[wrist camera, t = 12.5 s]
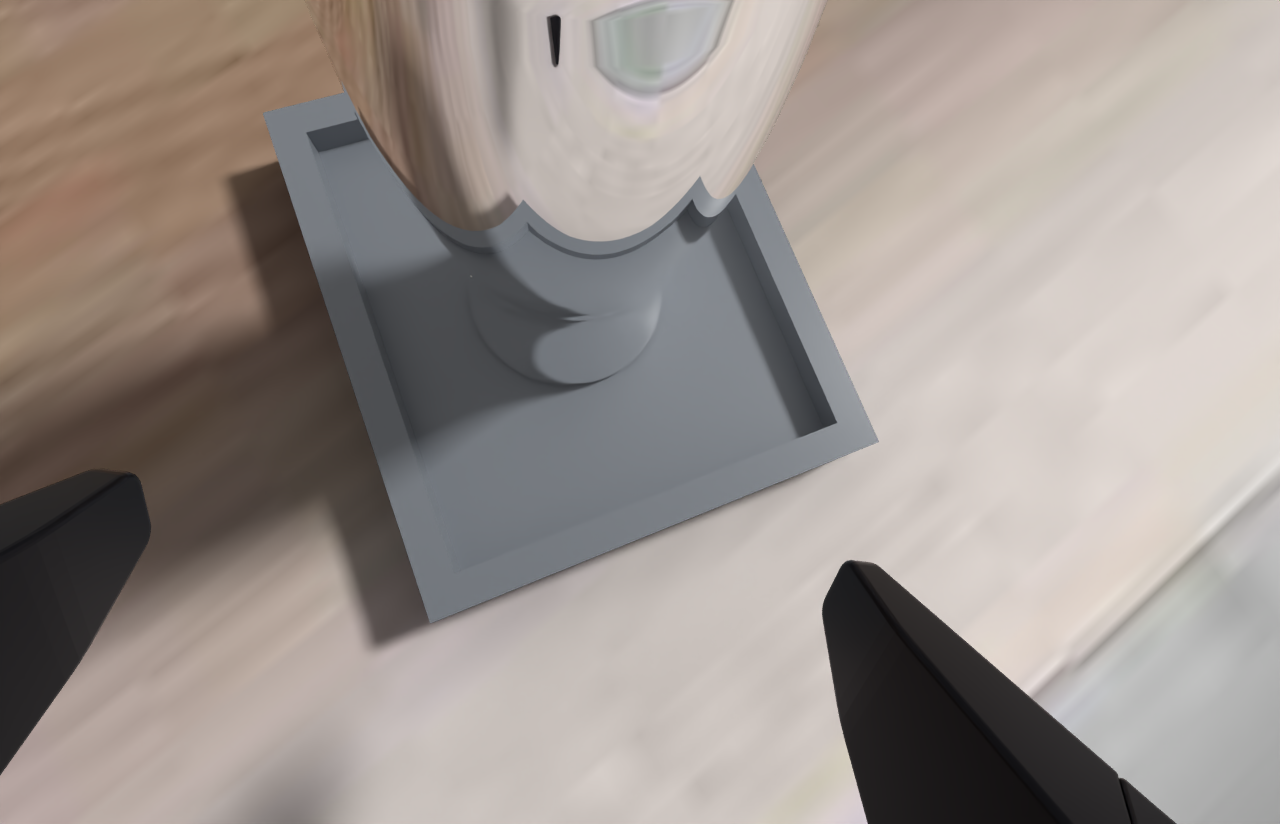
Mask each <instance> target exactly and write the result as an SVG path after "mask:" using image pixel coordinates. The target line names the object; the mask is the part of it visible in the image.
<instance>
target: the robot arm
mask: <svg viewBox="0 0 1280 824" xmlns="http://www.w3.org/2000/svg"><path fill="white" fill-rule="evenodd" d="M150 533H151V523H150V519H149V515H148V510H147V506H146V502H145V498H144V494H143V489H142V485H141V482H140V480H139V478H138V477H137V476H136V475H135V474H132V473H130V472H124V471H116V470H107V469H92V470H89V471H86V472H83V473H81V474H78V475H75V476H73V477H70V478H68V479H65V480H62V481H60V482H57V483H55V484H52V485H50V486H47V487H44V488H42V489H39V490H37V491H34V492H31V493H29V494H26V495H24V496H21V497H19V498H16V499H13V500H11V501H8V502H6V503H3V504H0V775H1V774H2V772H3V771H4V769H5V768H6V767H7V765H8V764H9V762H10V761H11V759H12V758H13V757H14V755H15V754H16V752H17V751H18V750H19V748H20V747H21V745H22V744H23V743H24V741H25V740H26V738H27V737H28V736H29V734H30V733H31V731H32V730H33V729H34V727H35V726H36V724H37V723H38V721H39V720H40V719H41V717H42V716H43V714H44V713H45V712H46V710H47V709H48V707H49V706H50V705H51V703H52V702H53V700H54V699H55V698H56V696H57V695H58V693H59V692H60V691H61V689H62V688H63V686H64V685H65V683H66V682H67V681H68V679H69V678H70V676H71V675H72V673H73V672H74V670H75V669H76V667H77V666H78V664H79V663H80V661H81V660H82V658H83V656H84V655H85V653H86V652H87V650H88V648H89V647H90V645H91V643H92V642H93V640H94V638H95V636H96V634H97V633H98V631H99V629H100V627H101V626H102V624H103V622H104V620H105V618H106V617H107V615H108V613H109V611H110V610H111V608H112V606H113V604H114V603H115V601H116V599H117V597H118V595H119V594H120V592H121V590H122V588H123V587H124V585H125V583H126V581H127V579H128V578H129V576H130V574H131V572H132V571H133V569H134V567H135V565H136V563H137V562H138V560H139V558H140V556H141V555H142V553H143V551H144V549H145V547H146V545H147V543H148V541H149V538H150ZM822 617H823V624H824V630H825V636H826V642H827V648H828V654H829V660H830V666H831V672H832V678H833V684H834V690H835V696H836V702H837V707H838V712H839V717H840V722H841V726H842V730H843V734H844V738H845V742H846V746H847V750H848V753H849V757H850V760H851V764H852V768H853V771H854V775H855V779H856V782H857V786H858V790H859V793H860V797H861V801H862V804H863V808H864V812H865V815H866V819H867V822H868V824H1176V823H1175V822H1174V821H1173V820H1172V819H1170V818H1169V817H1168V816H1167V815H1166V814H1164V813H1163V812H1162V811H1161V810H1160V809H1159V808H1157V807H1156V806H1155V805H1154V804H1153V803H1152V802H1150V801H1149V800H1148V799H1147V798H1146V797H1145V796H1144V795H1142V794H1141V793H1140V792H1139V791H1138V790H1137V789H1136V788H1134V787H1133V786H1132V785H1131V784H1130V783H1129V782H1128V781H1126V780H1125V779H1123V778H1119V777H1118V774H1117V772H1116V771H1115V770H1113V769H1112V768H1111V767H1110V766H1109V765H1108V764H1107V763H1105V762H1104V761H1103V760H1102V759H1101V758H1100V757H1098V756H1097V755H1096V754H1095V753H1094V752H1093V751H1092V750H1090V749H1089V748H1088V747H1087V746H1086V745H1085V744H1083V743H1082V742H1081V741H1080V740H1079V739H1078V738H1077V737H1075V736H1074V735H1073V734H1072V733H1071V732H1070V731H1068V730H1067V729H1066V728H1065V727H1064V726H1063V725H1062V724H1060V723H1059V722H1058V721H1057V720H1056V719H1055V718H1053V717H1052V716H1051V715H1050V714H1049V713H1048V712H1047V711H1045V710H1044V709H1043V708H1042V707H1041V706H1040V705H1038V704H1037V703H1036V702H1035V701H1034V700H1033V699H1032V698H1030V697H1029V696H1028V695H1027V694H1026V693H1025V692H1023V691H1022V690H1021V689H1020V688H1019V687H1018V686H1017V685H1015V684H1014V683H1013V682H1012V681H1011V680H1010V679H1008V678H1007V677H1006V676H1005V675H1004V674H1003V673H1002V672H1000V671H999V670H998V669H997V668H996V667H995V666H993V665H992V664H991V663H990V662H989V661H988V660H987V659H985V658H984V657H983V656H982V655H981V654H980V653H978V652H977V651H976V650H975V649H974V648H973V647H972V646H970V645H969V644H968V643H967V642H966V641H965V640H963V639H962V638H961V637H960V636H959V635H958V634H957V633H955V632H954V631H953V630H952V629H951V628H950V627H948V626H947V625H946V624H945V623H944V622H943V621H942V620H940V619H939V618H938V617H937V616H936V615H935V614H933V613H932V612H931V611H930V610H929V609H928V608H927V607H925V606H924V605H923V604H922V603H921V602H920V601H918V600H917V599H916V598H915V597H914V596H913V595H912V594H910V593H909V592H908V591H907V590H906V589H905V588H903V587H902V586H901V585H900V584H899V583H898V582H897V581H895V580H894V579H893V578H892V577H891V576H890V575H888V574H887V573H886V572H885V571H884V570H883V569H882V568H880V567H879V566H878V565H876V564H874V563H870V562H862V561H854V560H850V561H846V562H845V563H844V564H842V566H841V568H840V569H839V571H838V573H837V575H836V577H835V579H834V581H833V583H832V585H831V587H830V589H829V591H828V593H827V595H826V597H825V599H824V603H823V608H822Z"/></svg>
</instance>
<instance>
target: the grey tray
mask: <svg viewBox="0 0 1280 824" xmlns="http://www.w3.org/2000/svg"><path fill="white" fill-rule="evenodd" d="M263 115H264V118H265V121H266V124H267V127H268V130H269V134H270V137H271V140H272V143H273V146H274V149H275V152H276V155H277V158H278V161H279V164H280V167H281V170H282V173H283V176H284V179H285V182H286V185H287V188H288V191H289V195H290V198H291V201H292V204H293V207H294V210H295V213H296V216H297V219H298V222H299V225H300V228H301V231H302V234H303V237H304V240H305V243H306V246H307V249H308V252H309V256H310V259H311V262H312V265H313V268H314V271H315V274H316V277H317V280H318V283H319V286H320V289H321V292H322V295H323V298H324V301H325V304H326V307H327V310H328V313H329V317H330V320H331V323H332V326H333V329H334V332H335V335H336V338H337V341H338V344H339V347H340V350H341V353H342V356H343V359H344V362H345V365H346V368H347V371H348V374H349V378H350V381H351V384H352V387H353V390H354V393H355V396H356V399H357V402H358V405H359V408H360V411H361V414H362V417H363V420H364V423H365V426H366V429H367V432H368V435H369V439H370V442H371V445H372V448H373V451H374V454H375V457H376V460H377V463H378V466H379V469H380V472H381V475H382V478H383V481H384V484H385V487H386V490H387V493H388V496H389V500H390V503H391V506H392V509H393V512H394V515H395V518H396V521H397V524H398V527H399V530H400V533H401V536H402V539H403V542H404V545H405V548H406V551H407V554H408V557H409V561H410V564H411V567H412V570H413V573H414V576H415V579H416V582H417V585H418V588H419V591H420V594H421V597H422V600H423V603H424V606H425V609H426V612H427V615H428V618H429V622H430V623H433V622H435V621H438V620H440V619H443V618H445V617H448V616H450V615H453V614H455V613H458V612H460V611H462V610H465V609H467V608H470V607H472V606H475V605H477V604H480V603H482V602H485V601H487V600H490V599H492V598H495V597H497V596H499V595H502V594H504V593H507V592H509V591H512V590H514V589H517V588H519V587H522V586H524V585H527V584H529V583H532V582H534V581H537V580H539V579H541V578H544V577H546V576H549V575H551V574H554V573H556V572H559V571H561V570H564V569H566V568H569V567H571V566H574V565H576V564H579V563H581V562H583V561H586V560H588V559H591V558H593V557H596V556H598V555H601V554H603V553H606V552H608V551H611V550H613V549H616V548H618V547H621V546H623V545H625V544H628V543H630V542H633V541H635V540H638V539H640V538H643V537H645V536H648V535H650V534H653V533H655V532H658V531H660V530H663V529H665V528H667V527H670V526H672V525H675V524H677V523H680V522H682V521H685V520H687V519H690V518H692V517H695V516H697V515H700V514H702V513H704V512H707V511H709V510H712V509H714V508H717V507H719V506H722V505H724V504H727V503H729V502H732V501H734V500H737V499H739V498H742V497H744V496H746V495H749V494H751V493H754V492H756V491H759V490H761V489H764V488H766V487H769V486H771V485H774V484H776V483H779V482H781V481H784V480H786V479H788V478H791V477H793V476H796V475H798V474H801V473H803V472H806V471H808V470H811V469H813V468H816V467H818V466H821V465H823V464H826V463H828V462H830V461H833V460H835V459H838V458H840V457H843V456H845V455H848V454H850V453H853V452H855V451H858V450H860V449H863V448H865V447H868V446H870V445H872V444H875V443H877V442H879V441H878V438H877V436H876V434H875V432H874V430H873V427H872V425H871V423H870V421H869V418H868V416H867V414H866V412H865V410H864V407H863V405H862V403H861V401H860V399H859V396H858V394H857V392H856V390H855V387H854V385H853V383H852V381H851V379H850V376H849V374H848V372H847V370H846V368H845V365H844V363H843V361H842V359H841V356H840V354H839V352H838V350H837V348H836V345H835V343H834V341H833V339H832V337H831V334H830V332H829V330H828V328H827V325H826V323H825V321H824V319H823V317H822V314H821V312H820V310H819V308H818V306H817V303H816V301H815V299H814V297H813V294H812V292H811V290H810V288H809V286H808V283H807V281H806V279H805V277H804V274H803V272H802V270H801V268H800V266H799V263H798V261H797V259H796V257H795V255H794V252H793V250H792V248H791V246H790V243H789V241H788V239H787V237H786V235H785V232H784V230H783V228H782V226H781V224H780V221H779V219H778V217H777V215H776V212H775V210H774V208H773V206H772V204H771V201H770V199H769V197H768V195H767V193H766V190H765V188H764V186H763V184H762V181H761V179H760V177H759V175H758V173H757V170H756V168H755V166H754V164H753V165H752V167H751V169H750V171H749V172H748V174H747V176H746V178H745V180H744V181H743V183H742V185H741V186H740V188H739V190H738V191H737V193H736V194H735V196H734V197H733V198H732V200H731V201H730V202H729V204H728V205H727V206H726V208H725V209H724V210H723V211H722V213H721V214H720V215H719V217H718V218H717V219H716V221H715V222H714V223H713V224H712V226H711V227H710V228H709V230H708V231H707V232H706V233H705V235H704V236H703V237H702V238H701V239H700V241H699V242H698V243H697V244H696V245H695V246H694V247H693V248H692V249H691V250H690V251H689V252H688V254H687V255H686V256H685V257H684V258H683V259H682V260H681V261H680V262H679V263H678V264H677V265H676V266H675V267H674V268H673V269H672V270H671V271H670V272H669V273H668V274H667V275H666V276H665V277H664V278H663V279H662V292H663V298H662V309H661V314H660V318H659V321H658V324H657V327H656V329H655V332H654V334H653V336H652V338H651V339H650V341H649V343H648V344H647V346H646V347H645V348H644V350H643V351H642V352H641V353H640V354H639V355H638V356H637V357H636V358H635V359H634V360H633V361H632V362H631V363H630V364H628V365H627V366H626V367H624V368H623V369H621V370H620V371H618V372H616V373H615V374H613V375H611V376H608V377H606V378H604V379H601V380H598V381H595V382H591V383H586V384H579V385H556V384H549V383H544V382H540V381H537V380H534V379H531V378H529V377H527V376H524V375H522V374H520V373H519V372H517V371H515V370H514V369H512V368H511V367H509V366H508V365H506V364H505V363H504V362H503V361H501V360H500V359H499V358H498V357H497V356H496V355H495V354H494V353H493V352H492V351H491V350H490V349H489V348H488V346H487V345H486V344H485V342H484V341H483V339H482V338H481V336H480V334H479V332H478V330H477V328H476V326H475V323H474V320H473V317H472V314H471V309H470V304H469V297H468V276H469V273H468V272H467V270H466V269H465V268H464V267H463V266H462V265H461V264H460V263H459V262H458V261H457V260H456V259H455V258H454V257H453V255H452V254H451V253H450V252H449V251H448V250H447V249H446V248H445V247H444V245H443V244H442V243H441V242H440V241H439V240H438V239H437V238H436V236H435V235H434V234H433V233H432V232H431V231H430V230H429V228H428V227H427V226H426V225H425V224H424V222H423V221H422V220H421V218H420V217H419V216H418V214H417V213H416V211H415V210H414V209H413V207H412V206H411V205H410V203H409V202H408V201H407V199H406V198H405V197H404V195H403V194H402V193H401V191H400V190H399V189H398V187H397V186H396V184H395V183H394V182H393V180H392V179H391V177H390V176H389V174H388V173H387V171H386V170H385V168H384V166H383V164H382V163H381V161H380V159H379V157H378V155H377V154H376V152H375V150H374V148H373V146H372V144H371V143H370V141H369V139H368V137H367V135H366V133H365V132H364V130H363V128H362V126H361V124H360V123H359V121H358V119H357V117H356V115H355V113H354V112H353V110H352V108H351V106H350V104H349V102H348V100H347V98H346V96H345V93H341V94H337V95H333V96H329V97H325V98H321V99H317V100H313V101H309V102H305V103H300V104H296V105H292V106H288V107H284V108H280V109H276V110H272V111H268V112H264V113H263Z"/></svg>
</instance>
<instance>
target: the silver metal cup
mask: <svg viewBox="0 0 1280 824" xmlns="http://www.w3.org/2000/svg"><path fill="white" fill-rule="evenodd" d="M827 1H828V0H305V3H306V5H307V8H308V11H309V13H310V16H311V18H312V21H313V23H314V25H315V28H316V30H317V32H318V34H319V37H320V39H321V41H322V43H323V46H324V48H325V50H326V52H327V55H328V57H329V59H330V62H331V64H332V66H333V68H334V71H335V73H336V75H337V77H338V80H339V82H340V84H341V86H342V89H343V91H344V93H345V96H346V98H347V100H348V102H349V104H350V106H351V108H352V110H353V112H354V113H355V115H356V117H357V119H358V121H359V123H360V124H361V126H362V128H363V130H364V132H365V133H366V135H367V137H368V139H369V141H370V143H371V144H372V146H373V148H374V150H375V152H376V154H377V155H378V157H379V159H380V161H381V163H382V164H383V166H384V168H385V170H386V171H387V173H388V174H389V176H390V177H391V179H392V180H393V182H394V183H395V184H396V186H397V187H398V189H399V190H400V191H401V193H402V194H403V195H404V197H405V198H406V199H407V201H408V202H409V203H410V205H411V206H412V207H413V209H414V210H415V211H416V213H417V214H418V216H419V217H420V218H421V220H422V221H423V222H424V224H425V225H426V226H427V227H428V228H429V230H430V231H431V232H432V233H433V234H434V235H435V236H436V238H437V239H438V240H439V241H440V242H441V243H442V244H443V245H444V247H445V248H446V249H447V250H448V251H449V252H450V253H451V254H452V255H453V257H454V258H455V259H456V260H457V261H458V262H459V263H460V264H461V265H462V266H463V267H464V268H465V269H466V270H467V272H468V273H469V276H468V297H469V304H470V309H471V314H472V317H473V320H474V323H475V326H476V328H477V330H478V332H479V334H480V336H481V338H482V339H483V341H484V342H485V344H486V345H487V346H488V348H489V349H490V350H491V351H492V352H493V353H494V354H495V355H496V356H497V357H498V358H499V359H500V360H501V361H503V362H504V363H505V364H506V365H508V366H509V367H511V368H512V369H514V370H515V371H517V372H519V373H520V374H522V375H524V376H527V377H529V378H531V379H534V380H537V381H540V382H544V383H549V384H556V385H579V384H586V383H591V382H595V381H598V380H601V379H604V378H606V377H608V376H611V375H613V374H615V373H616V372H618V371H620V370H621V369H623V368H624V367H626V366H627V365H628V364H630V363H631V362H632V361H633V360H634V359H635V358H636V357H637V356H638V355H639V354H640V353H641V352H642V351H643V350H644V348H645V347H646V346H647V344H648V343H649V341H650V339H651V338H652V336H653V334H654V332H655V329H656V327H657V324H658V321H659V318H660V314H661V309H662V298H663V292H662V279H663V278H664V277H665V276H666V275H667V274H668V273H669V272H670V271H671V270H672V269H673V268H674V267H675V266H676V265H677V264H678V263H679V262H680V261H681V260H682V259H683V258H684V257H685V256H686V255H687V254H688V252H689V251H690V250H691V249H692V248H693V247H694V246H695V245H696V244H697V243H698V242H699V241H700V239H701V238H702V237H703V236H704V235H705V233H706V232H707V231H708V230H709V228H710V227H711V226H712V224H713V223H714V222H715V221H716V219H717V218H718V217H719V215H720V214H721V213H722V211H723V210H724V209H725V208H726V206H727V205H728V204H729V202H730V201H731V200H732V198H733V197H734V196H735V194H736V193H737V191H738V190H739V188H740V186H741V185H742V183H743V181H744V180H745V178H746V176H747V174H748V172H749V171H750V169H751V167H752V165H753V164H754V162H755V160H756V158H757V156H758V155H759V153H760V151H761V149H762V148H763V146H764V144H765V142H766V140H767V139H768V137H769V135H770V133H771V132H772V130H773V128H774V126H775V123H776V121H777V119H778V117H779V115H780V113H781V110H782V108H783V106H784V104H785V101H786V99H787V97H788V95H789V93H790V90H791V88H792V86H793V84H794V82H795V79H796V77H797V75H798V73H799V71H800V68H801V66H802V64H803V62H804V59H805V57H806V55H807V52H808V50H809V47H810V45H811V42H812V39H813V37H814V34H815V32H816V29H817V27H818V24H819V22H820V19H821V17H822V14H823V12H824V9H825V6H826V4H827Z"/></svg>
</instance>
